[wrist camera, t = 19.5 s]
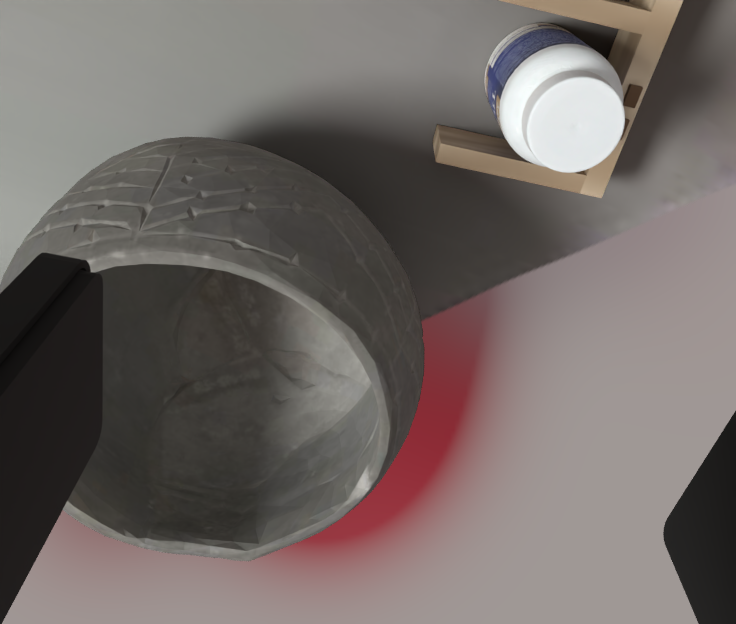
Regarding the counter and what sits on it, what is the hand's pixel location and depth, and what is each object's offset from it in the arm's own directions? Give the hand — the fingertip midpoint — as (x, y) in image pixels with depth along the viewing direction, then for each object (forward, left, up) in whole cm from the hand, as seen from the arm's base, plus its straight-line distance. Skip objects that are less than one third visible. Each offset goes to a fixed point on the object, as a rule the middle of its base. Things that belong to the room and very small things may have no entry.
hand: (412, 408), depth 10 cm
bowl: (+15, -6, -30) cm, 34 cm away
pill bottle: (0, +7, -30) cm, 31 cm away
